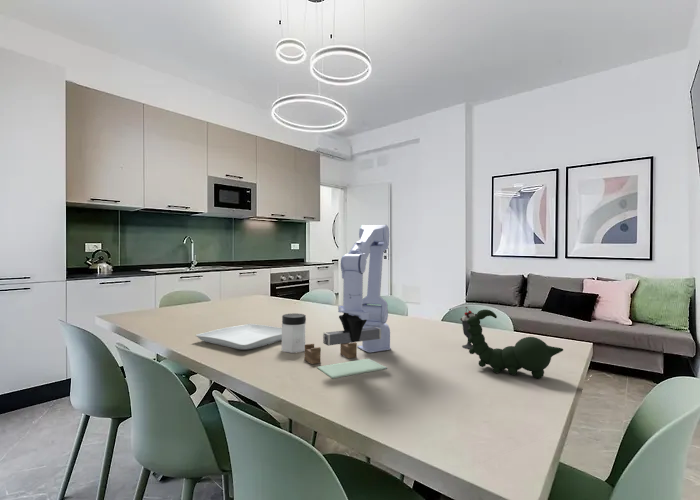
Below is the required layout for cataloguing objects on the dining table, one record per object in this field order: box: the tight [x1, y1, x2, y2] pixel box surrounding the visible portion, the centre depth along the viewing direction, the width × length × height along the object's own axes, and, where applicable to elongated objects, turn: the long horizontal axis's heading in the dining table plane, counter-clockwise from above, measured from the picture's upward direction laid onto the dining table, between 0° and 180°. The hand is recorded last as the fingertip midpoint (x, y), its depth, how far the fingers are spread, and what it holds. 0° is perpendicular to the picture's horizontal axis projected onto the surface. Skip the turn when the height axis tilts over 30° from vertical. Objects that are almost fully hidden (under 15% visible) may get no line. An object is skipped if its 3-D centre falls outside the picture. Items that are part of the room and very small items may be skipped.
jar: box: [281, 313, 307, 354], centre depth 128 cm, size 9×8×12 cm
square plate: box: [194, 323, 282, 351], centre depth 140 cm, size 27×27×4 cm
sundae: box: [459, 306, 477, 350], centre depth 134 cm, size 7×7×15 cm
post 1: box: [303, 343, 322, 365], centre depth 115 cm, size 3×6×5 cm, turn 30°
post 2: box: [339, 342, 358, 359], centre depth 122 cm, size 3×6×5 cm, turn 30°
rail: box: [322, 327, 381, 347], centre depth 109 cm, size 18×3×3 cm, turn 120°
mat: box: [316, 358, 388, 379], centre depth 109 cm, size 18×10×1 cm, turn 120°
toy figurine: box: [467, 309, 564, 380], centre depth 106 cm, size 9×19×25 cm
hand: (352, 340), depth 109 cm, fingers closed on rail, 3 cm apart
